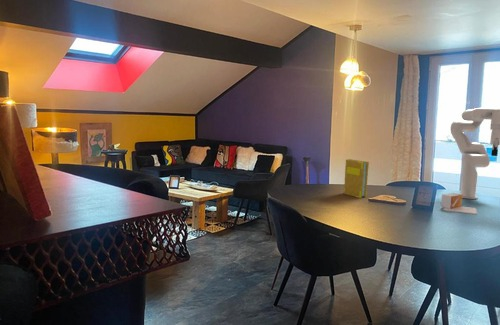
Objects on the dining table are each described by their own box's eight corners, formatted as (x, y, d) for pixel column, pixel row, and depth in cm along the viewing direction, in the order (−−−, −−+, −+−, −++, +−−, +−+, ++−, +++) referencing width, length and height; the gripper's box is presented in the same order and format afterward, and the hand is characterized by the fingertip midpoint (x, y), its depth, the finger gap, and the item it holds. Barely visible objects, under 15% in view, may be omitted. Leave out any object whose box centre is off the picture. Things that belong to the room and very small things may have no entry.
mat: (444, 205, 251) (444, 204, 251) (476, 209, 243) (476, 208, 243) (443, 210, 237) (443, 209, 237) (477, 214, 229) (477, 213, 229)
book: (366, 196, 271) (368, 161, 268) (360, 197, 267) (362, 162, 264) (348, 192, 285) (350, 159, 281) (341, 193, 281) (343, 159, 278)
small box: (461, 206, 245) (450, 209, 238) (452, 204, 251) (440, 206, 244) (463, 194, 244) (451, 196, 237) (453, 192, 249) (441, 194, 243)
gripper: (489, 127, 256) (486, 154, 258) (491, 127, 243) (488, 156, 245) (503, 127, 252) (499, 155, 254) (505, 128, 239) (502, 157, 241)
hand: (494, 155), depth 250 cm, fingers closed
